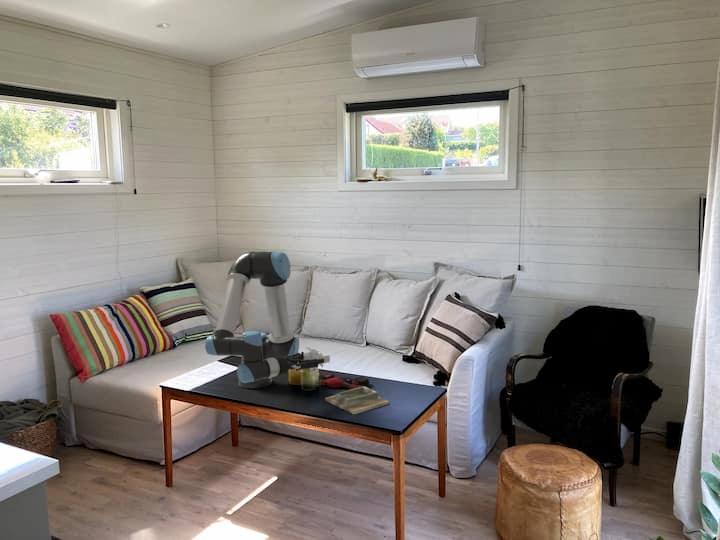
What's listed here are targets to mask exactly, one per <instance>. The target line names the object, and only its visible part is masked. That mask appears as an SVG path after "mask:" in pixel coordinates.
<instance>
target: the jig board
mask: <svg viewBox="0 0 720 540" xmlns="http://www.w3.org/2000/svg"><path fill="white" fill-rule="evenodd" d="M325 401H326V402H327V403H329V404H332V405H333V406H335V407H337V408H339V409H342V410H343V409H344V411H345V410H346V412H347V411H348V413H349V412H350V413H349V414H351V413H352V415H353V414H354V415H357V414H360V413H364V412H367V411H370V410H373V409H376V408H380V407H383V406H387V405H388V404H389V400H387V399H385V398H381V397H379V392H378V391H376V390H373V389H372V388H369V387H367V386H365V387H364V386H362V387H358V388H355V389H348V390H344V391H341V392H337V393H335V394H334V395H331V396H328V397H327V396H326V397H325Z"/></svg>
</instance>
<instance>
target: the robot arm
mask: <svg viewBox="0 0 720 540" xmlns="http://www.w3.org/2000/svg"><path fill="white" fill-rule="evenodd" d="M290 276H291V263H290V259H289V257H288V255H287V254H286V253H285V252H283V251H276V250H275V251H247V252H245V253H243V254H241V255H240V256H239V257H238V258H237V259H236V260H235V261H234V262H233V263H232V265H231V266H230V268H229V270H228V272H227V277H226V281H227V286H226V290H225V294H224V297H223V302H222V305H221V309H220V312H219V316H218V320H217V324H216V326H215V327H216V328H215V332H214V335H209V336H207V338H206V340H205V341H204V342H205V343H204V349H205V353H206V354H207V355H210V356H218V357H219V356H225V357H226V356H231V357H240V358H241V364H238V366H237V369H236V375H237V377H238V386H239V387H241V388H243V389H248V388H249V389H250V388H251V389H252V390H253V388H254V389H255V388H256V389H263V388H266V387H268V385H269V386H270V385H272V383H273V378H274V377H280V376H283V375H286V374H287V373H288V372H289V370H295V371H302V370H309V369H310V368H313V369H315V368H314V367H318V368H319V366H320V364H323V365H324V364H326V363H327V364H328V363H330V362H331V356H330V355H329V354H328V355H323V357H319V358H315V359H311V360H307V358H308V357H305V358H306V359H305V358H304V356H303V355H304V353H305V351H301V352H299V350H300V338H299V337H297V336H295V333H294V331H293V330H291V328H290V320H289V312H288V311H289V310H288V304H287V295H286V289H285V288H286V287H285V285H286V283H287V282H288V280H289V278H290ZM252 279H254V280H259V282H260V285H261V286H262V287H264V291H265V300H266V304H267V306H266V307H267V308H266V309H267V313H268V322H269V327H270V328H269V329H270V333H269V334H268V336H267V333H266V332H260V331H258V330H246V331H244V332H243V333H242V334H241V336H235V332H236V328H237V324H238V320H239V316H240V314H241V313H240V312H241V308H242V304H243V301H244V296H245V292H246V288H247V286H248V285H249V284H250V282H251V280H252ZM316 351H317V355H319V354H320V353H319V350H316ZM308 354H309V352H308ZM262 387H263V388H262ZM251 389H250V390H251ZM256 389H255V390H256Z"/></svg>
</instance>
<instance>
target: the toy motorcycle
mask: <svg viewBox="0 0 720 540" xmlns="http://www.w3.org/2000/svg"><path fill="white" fill-rule="evenodd" d="M318 381H319V383H318V382H317V384H318V386H319V387H321V385H322V386H325V385H326V386H328V387H329V388H333V389H337V388H338V389H339V388H346V389H348V390H351V389H355V388H358V387H362V386H364V387H367V386H369V384H370V380H369V379H368V378H367V377H364V376H358V377H355V378H351V377H346V376H345V377H344V376H342V377H341V376H337V377H335V374H334V373H332V372H323V373H322V374H319V375H318Z"/></svg>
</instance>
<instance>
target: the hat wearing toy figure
mask: <svg viewBox="0 0 720 540" xmlns="http://www.w3.org/2000/svg"><path fill="white" fill-rule="evenodd" d="M306 349H307V350H308V351H309V352H308V351H306V352H304V355H303V356H304V360H305V359H306V358H305V357H308V358H307V360H311V359H315V358H319V357H323V356H324V355H323V354H322V352H320V353H319V355H317V351H318V350H317V349H315V348H312V349H311V347H308V346H306ZM308 353H309V354H308ZM319 366H321V368H323V367H324V363H323V364H319ZM319 366H318V367H314V368H309V375H310V376H320V373H319Z"/></svg>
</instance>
